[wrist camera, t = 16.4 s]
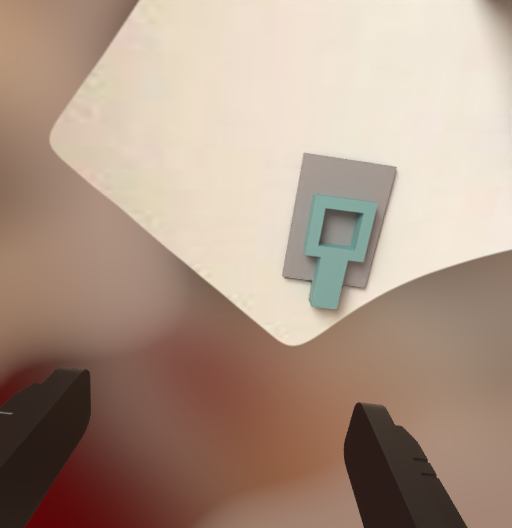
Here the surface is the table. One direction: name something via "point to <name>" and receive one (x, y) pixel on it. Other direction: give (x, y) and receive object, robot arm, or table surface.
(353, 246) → the teal square frame paddle
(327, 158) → the mat
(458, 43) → the table surface
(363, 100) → the table surface
